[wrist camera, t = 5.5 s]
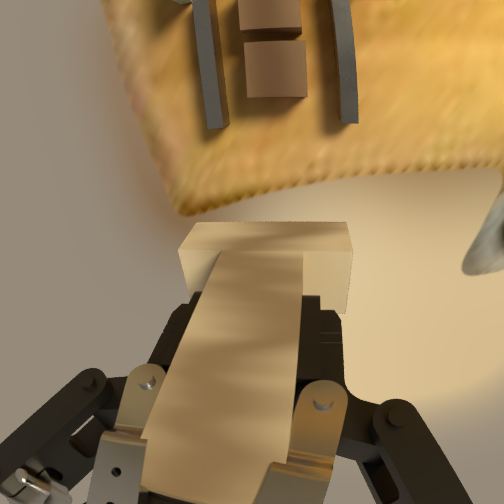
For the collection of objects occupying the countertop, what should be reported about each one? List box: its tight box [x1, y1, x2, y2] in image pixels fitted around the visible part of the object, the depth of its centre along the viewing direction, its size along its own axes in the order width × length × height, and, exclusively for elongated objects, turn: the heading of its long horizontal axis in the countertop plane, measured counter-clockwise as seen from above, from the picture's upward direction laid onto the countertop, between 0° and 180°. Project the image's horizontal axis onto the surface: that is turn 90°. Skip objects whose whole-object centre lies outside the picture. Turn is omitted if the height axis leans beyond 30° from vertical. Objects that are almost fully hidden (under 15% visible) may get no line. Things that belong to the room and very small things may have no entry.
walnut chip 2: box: [244, 41, 308, 98], centre depth 18 cm, size 4×4×3 cm
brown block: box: [238, 0, 302, 36], centre depth 15 cm, size 4×4×3 cm
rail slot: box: [192, 0, 359, 129], centre depth 18 cm, size 11×11×2 cm
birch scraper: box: [140, 222, 353, 504], centre depth 10 cm, size 7×3×12 cm, turn 95°
